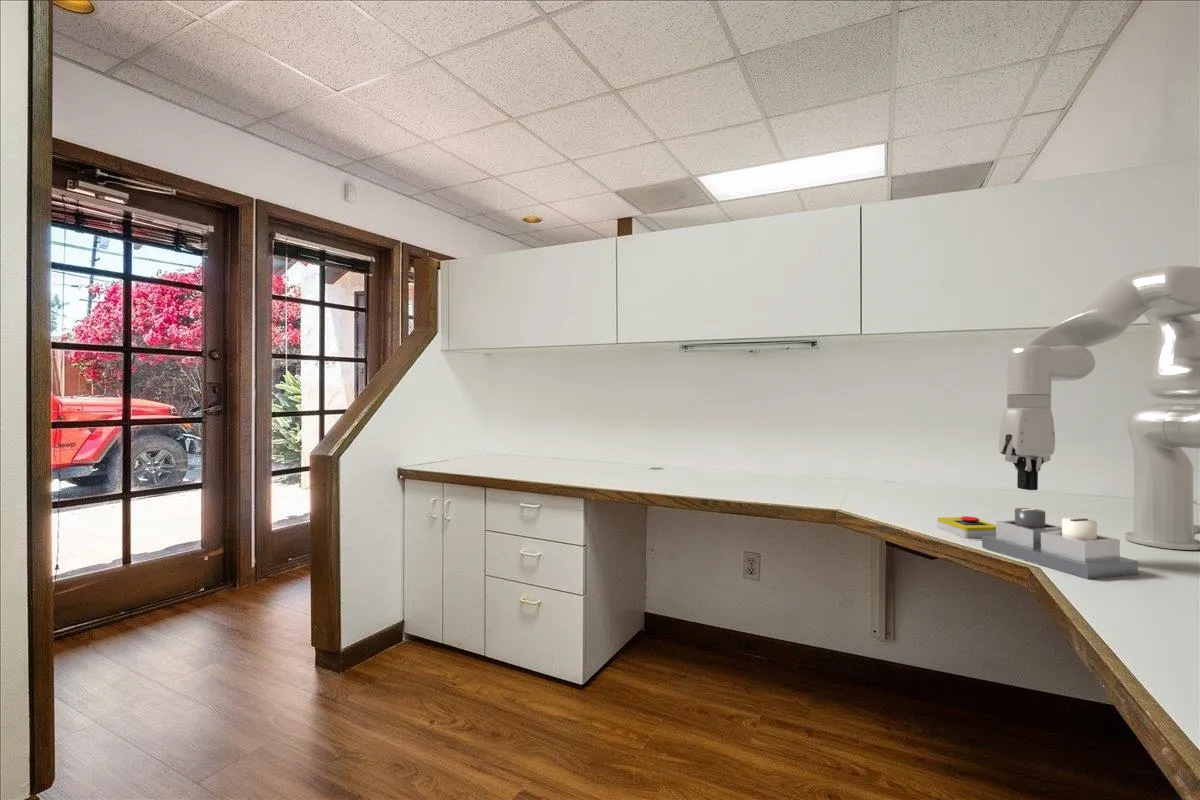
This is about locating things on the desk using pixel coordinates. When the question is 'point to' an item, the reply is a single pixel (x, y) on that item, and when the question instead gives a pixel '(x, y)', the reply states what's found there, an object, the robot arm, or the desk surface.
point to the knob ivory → (1079, 528)
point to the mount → (1061, 550)
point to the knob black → (1030, 518)
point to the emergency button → (966, 527)
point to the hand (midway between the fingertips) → (1027, 489)
